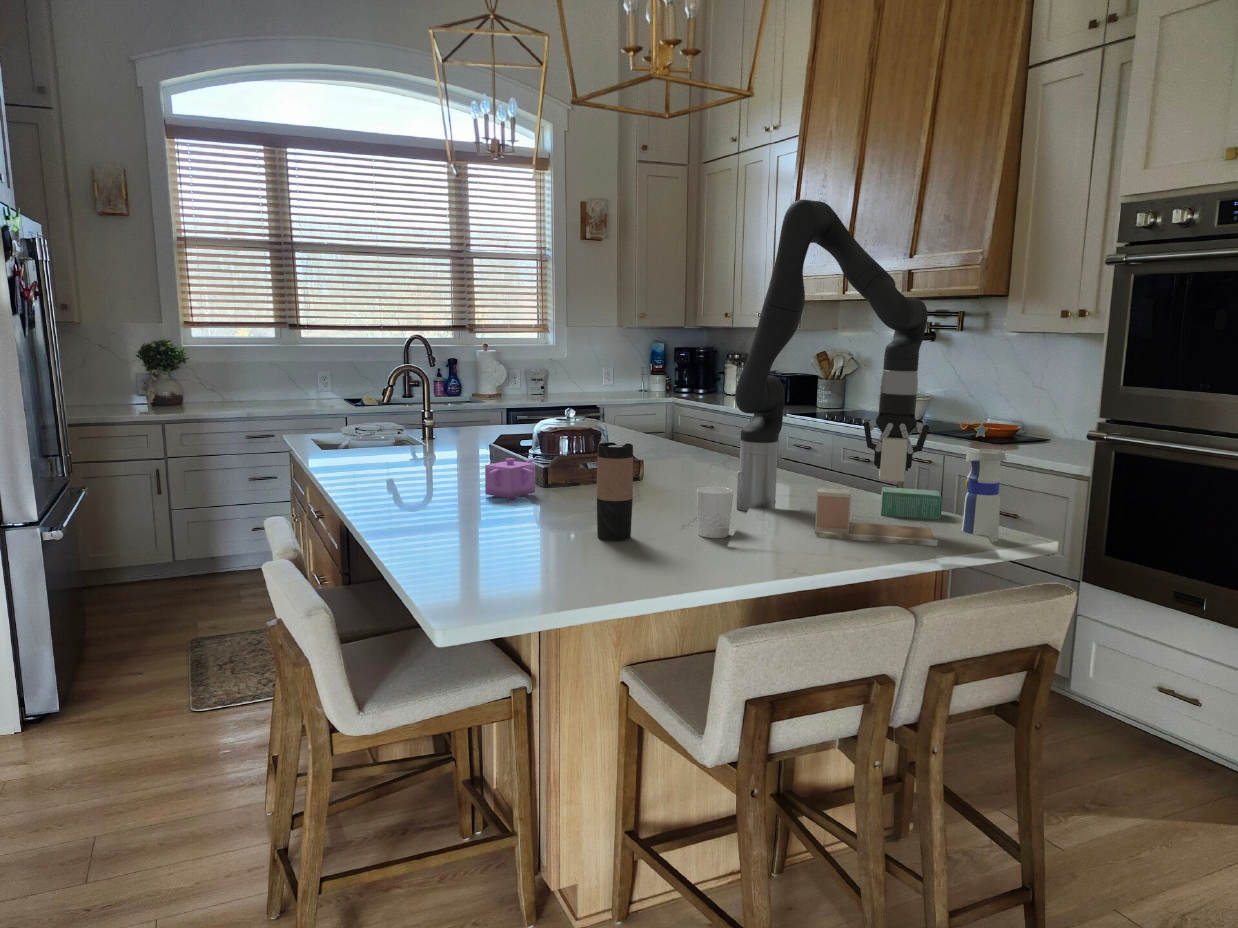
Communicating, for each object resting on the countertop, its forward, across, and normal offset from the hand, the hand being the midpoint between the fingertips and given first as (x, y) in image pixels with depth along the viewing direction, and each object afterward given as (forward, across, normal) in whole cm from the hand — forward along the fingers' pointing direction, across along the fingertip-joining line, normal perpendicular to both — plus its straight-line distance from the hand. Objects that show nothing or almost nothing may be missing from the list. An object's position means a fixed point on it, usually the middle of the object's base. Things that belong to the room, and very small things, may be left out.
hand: (892, 468), depth 189 cm
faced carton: (+13, -12, -7) cm, 19 cm away
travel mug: (+16, -57, -21) cm, 63 cm away
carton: (+2, 0, 0) cm, 2 cm away
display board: (+15, -3, -4) cm, 16 cm away
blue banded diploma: (+15, +19, +4) cm, 25 cm away
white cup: (+15, -37, -12) cm, 42 cm away
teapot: (+17, -94, +14) cm, 96 cm away
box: (+15, +6, +17) cm, 24 cm away
